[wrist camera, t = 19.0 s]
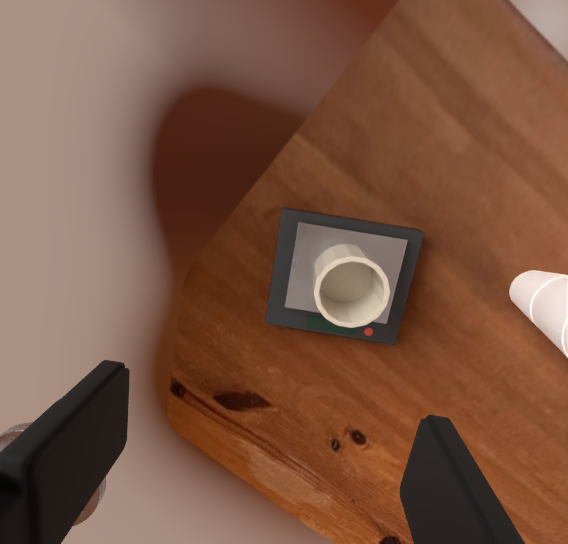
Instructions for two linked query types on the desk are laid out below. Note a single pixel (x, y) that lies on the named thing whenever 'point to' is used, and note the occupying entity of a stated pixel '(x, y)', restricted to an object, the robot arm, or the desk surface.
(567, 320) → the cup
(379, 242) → the scale pan
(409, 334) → the desk surface
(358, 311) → the ramekin
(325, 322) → the scale
